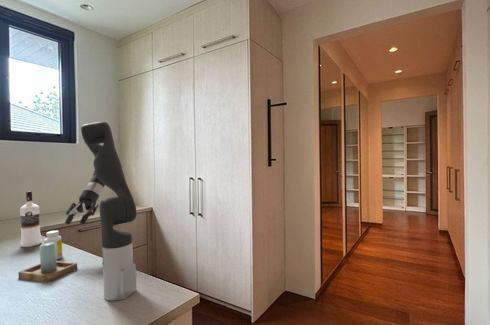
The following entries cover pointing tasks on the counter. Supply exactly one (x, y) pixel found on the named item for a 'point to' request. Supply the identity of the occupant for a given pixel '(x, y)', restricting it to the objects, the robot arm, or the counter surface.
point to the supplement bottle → (54, 237)
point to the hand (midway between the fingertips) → (74, 223)
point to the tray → (36, 274)
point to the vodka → (30, 223)
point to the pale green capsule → (48, 257)
